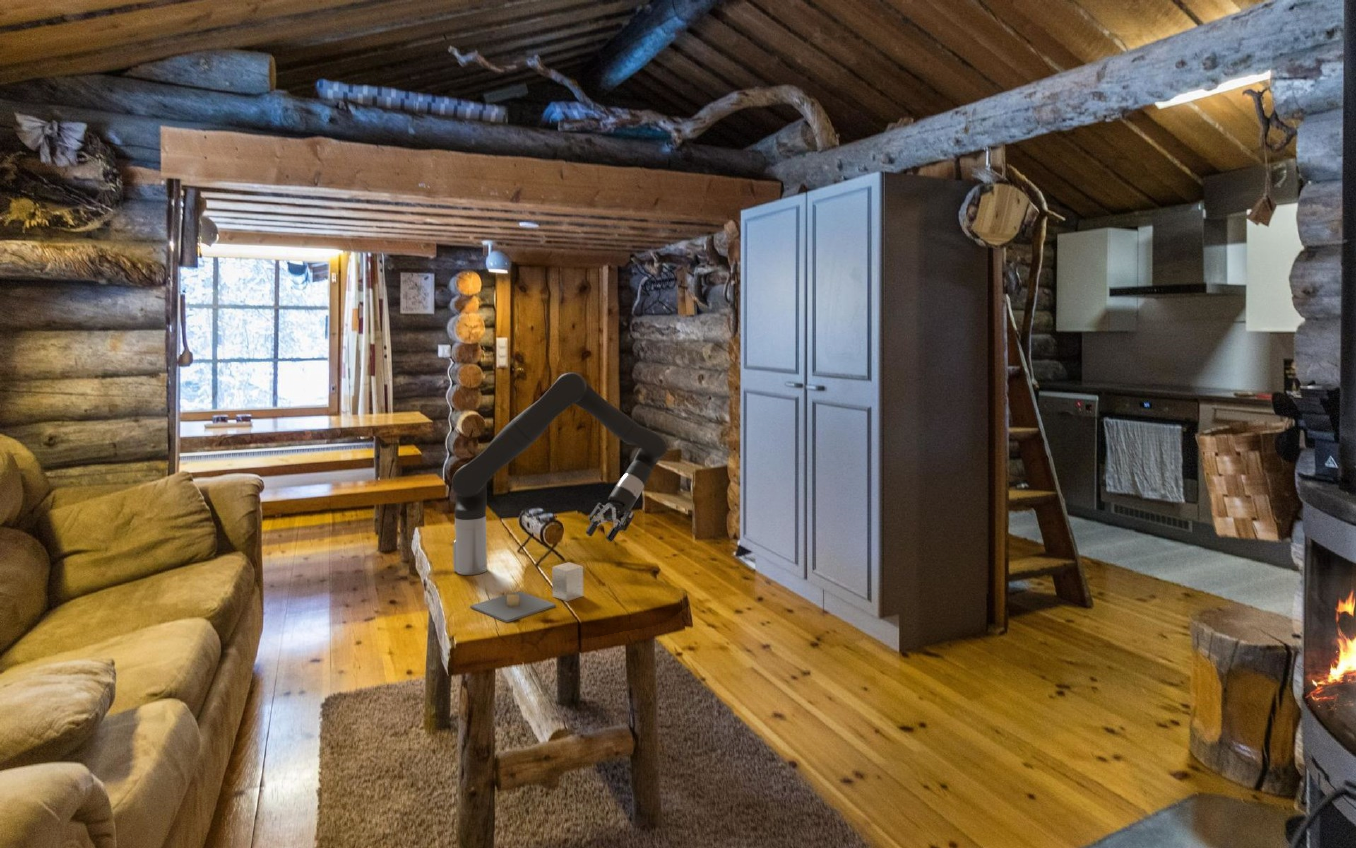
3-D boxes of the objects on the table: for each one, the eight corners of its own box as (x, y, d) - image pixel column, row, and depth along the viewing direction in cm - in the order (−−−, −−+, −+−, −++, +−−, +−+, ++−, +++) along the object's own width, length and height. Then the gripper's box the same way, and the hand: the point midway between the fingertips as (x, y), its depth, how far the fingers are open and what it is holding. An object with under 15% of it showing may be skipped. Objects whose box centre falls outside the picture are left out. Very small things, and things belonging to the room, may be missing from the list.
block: (552, 596, 214) (552, 566, 213) (569, 591, 219) (568, 562, 218) (566, 601, 210) (566, 571, 210) (583, 596, 215) (583, 566, 214)
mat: (470, 607, 205) (470, 596, 205) (519, 593, 217) (519, 582, 217) (506, 622, 195) (506, 610, 194) (555, 606, 206) (555, 595, 206)
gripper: (603, 482, 231) (574, 526, 224) (637, 488, 222) (608, 534, 215) (616, 496, 236) (588, 540, 229) (649, 503, 226) (622, 549, 219)
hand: (598, 537), depth 222 cm, fingers open, 8 cm apart
